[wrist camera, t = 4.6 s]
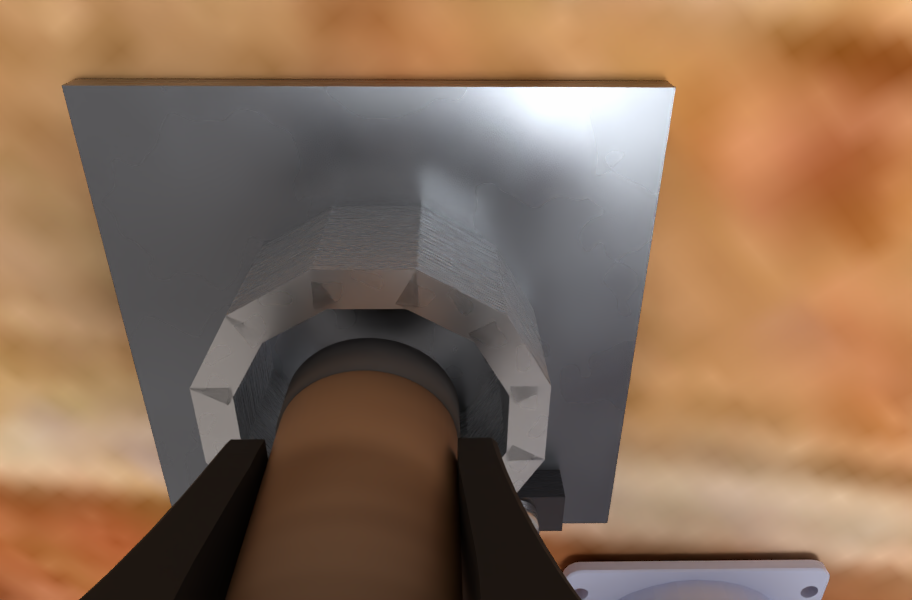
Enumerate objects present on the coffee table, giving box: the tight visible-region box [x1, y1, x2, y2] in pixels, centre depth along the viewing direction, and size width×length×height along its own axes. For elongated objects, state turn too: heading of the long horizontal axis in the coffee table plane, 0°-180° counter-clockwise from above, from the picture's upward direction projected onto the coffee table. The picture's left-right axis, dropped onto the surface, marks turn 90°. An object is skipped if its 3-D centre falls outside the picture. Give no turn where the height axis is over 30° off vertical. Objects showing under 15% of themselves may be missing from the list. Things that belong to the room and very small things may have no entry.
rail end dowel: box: [225, 338, 463, 600], centre depth 12 cm, size 4×4×6 cm
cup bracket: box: [62, 79, 675, 534], centre depth 16 cm, size 12×12×4 cm
